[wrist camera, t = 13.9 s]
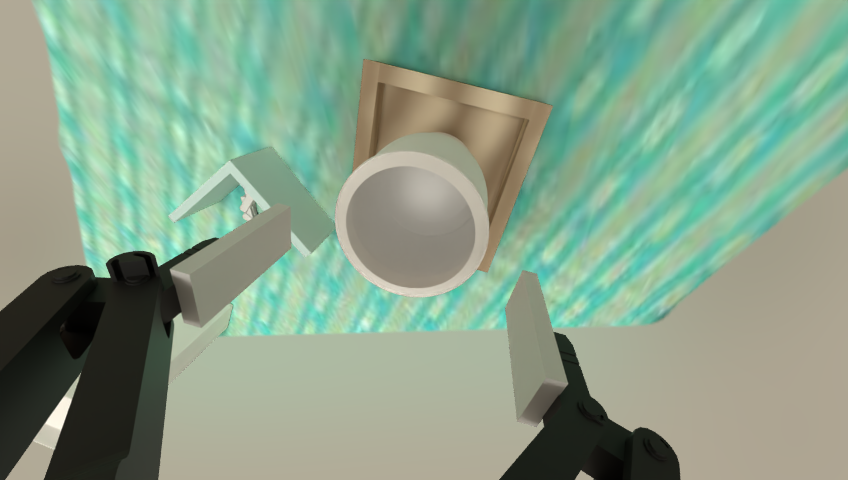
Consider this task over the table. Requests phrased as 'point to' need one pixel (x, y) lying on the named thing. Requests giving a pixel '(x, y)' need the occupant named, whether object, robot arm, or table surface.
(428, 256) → the jar
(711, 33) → the table surface
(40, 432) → the milk
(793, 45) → the table surface
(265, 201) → the l-shaped corner panel
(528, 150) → the wooden tray
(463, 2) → the table surface
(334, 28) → the table surface
